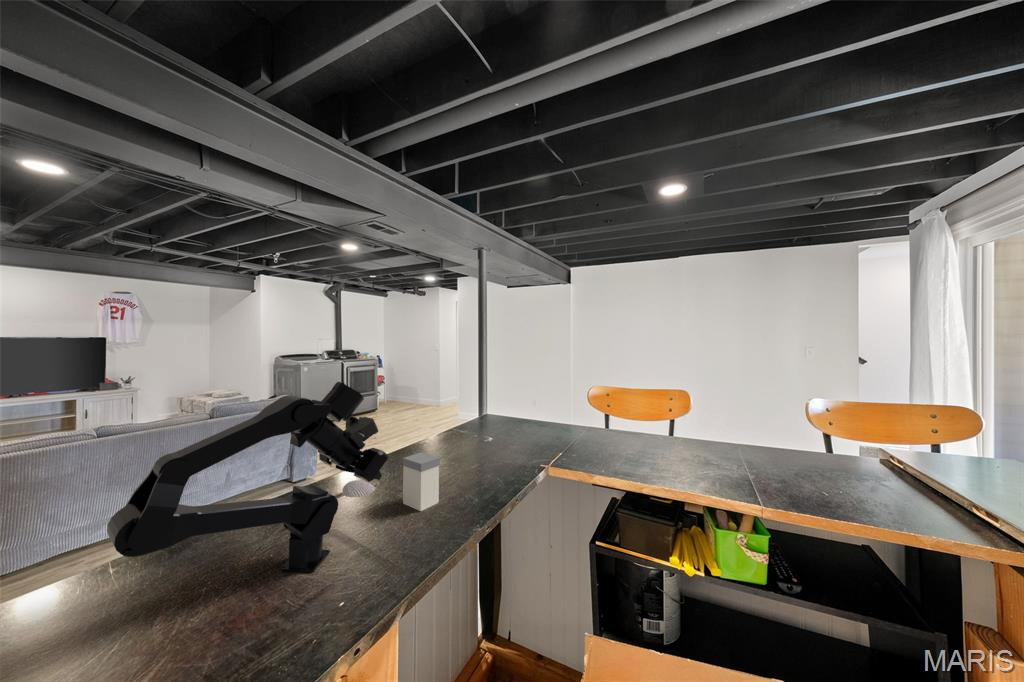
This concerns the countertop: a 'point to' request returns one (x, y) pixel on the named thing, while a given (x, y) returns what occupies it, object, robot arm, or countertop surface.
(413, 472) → the lidded box
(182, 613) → the countertop surface
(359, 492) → the seashell
